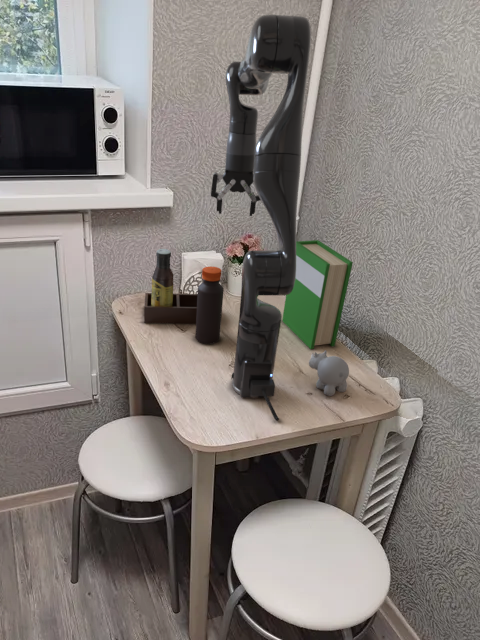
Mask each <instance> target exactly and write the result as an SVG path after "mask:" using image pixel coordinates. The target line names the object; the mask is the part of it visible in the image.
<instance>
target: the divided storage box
mask: <svg viewBox="0 0 480 640" xmlns="http://www.w3.org/2000/svg"><path fill="white" fill-rule="evenodd" d="M151 295H152V292H145V294H144V305H143V319H144V321H143V323H144V324H173V325H174V324H176V325H177V324H180V325H182V324H183V325H196V315H197V295H198V293H173V304H172V307H165V306H151V298H152V297H151Z"/></svg>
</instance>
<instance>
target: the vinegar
mask: <svg viewBox="0 0 480 640" xmlns="http://www.w3.org/2000/svg"><path fill="white" fill-rule="evenodd" d="M201 269H202V272H201V280H202V282H201V283H200V284H199V285H198V286H197V294H198V295H197V315H196V324H195V334H194V335H195V337H194V338H195V340H196V341H197V342H198V343H201V344H204V345H214V344H216V343H218V342H219V341H220V339H221V327H222V315H223V303H224V302H223V301H224V287H223V286H222V284H221V283H220V282H221V280H222V272H223V271H222V269H221V268H220V267H217V266H212V265H211V266H205V267H202V268H201Z"/></svg>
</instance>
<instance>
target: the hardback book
mask: <svg viewBox="0 0 480 640" xmlns="http://www.w3.org/2000/svg"><path fill="white" fill-rule="evenodd" d="M353 263H354V262H353V261H351V260H350V259H349V258H347V257H346V256H344V255H342V254H340V253H339V252H338V251H337V250H335V249H333V248H331V247H330V246H328V245H327V244H325V243H324V242H322V241H321V240H319V239H314V240H300V241H297V240H296V278H295V284H294V288H293V290H292V292H291V293H290V294H289V295H285V300H284V306H283V313H282V318H281V322H283V323H284V324H285V326H287V327H288V329H290V331H292V332H293V334H294V335H296V336H297V337H298V338H299V340H301V341H302V342H303V343H304V344H305V345H306V346H307V347H308V348H309V349H310V350H314V349H315V346H322V345H329V346H330V347H335V346H336V341H337V337H338V333H339V327H340V323H341V319H342V314H343V309H344V304H345V301H346V296H347V291H348V287H349V282H350V277H351V273H352V270H353V269H352V267H353Z"/></svg>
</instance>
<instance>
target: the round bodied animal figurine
mask: <svg viewBox="0 0 480 640" xmlns="http://www.w3.org/2000/svg"><path fill="white" fill-rule="evenodd" d="M327 354H328V353H327V350H326V349H325V350H324V351H323V352H322V353H318V352H312V353H311V356H310V359H309V360H308V366H309V368H311V369H314V370H315V371H317V372H316V373H317V376H318V379H317V381H316V383H315V387H316V388H317V389H318V390H321V391H322V390H323V394H324V395H326V396H327V397H328V396H329V397H331V396H334V395H335V393H336V391H337V392H338V393H344V392H346V391H347V389H348V382H347V380H348V377H349V374H350V368H349V364H348V363H347V362H346V361H345V359H344V358H342V357H339V356H336V355H331V356H330V355H329V356H328V355H327Z"/></svg>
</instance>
